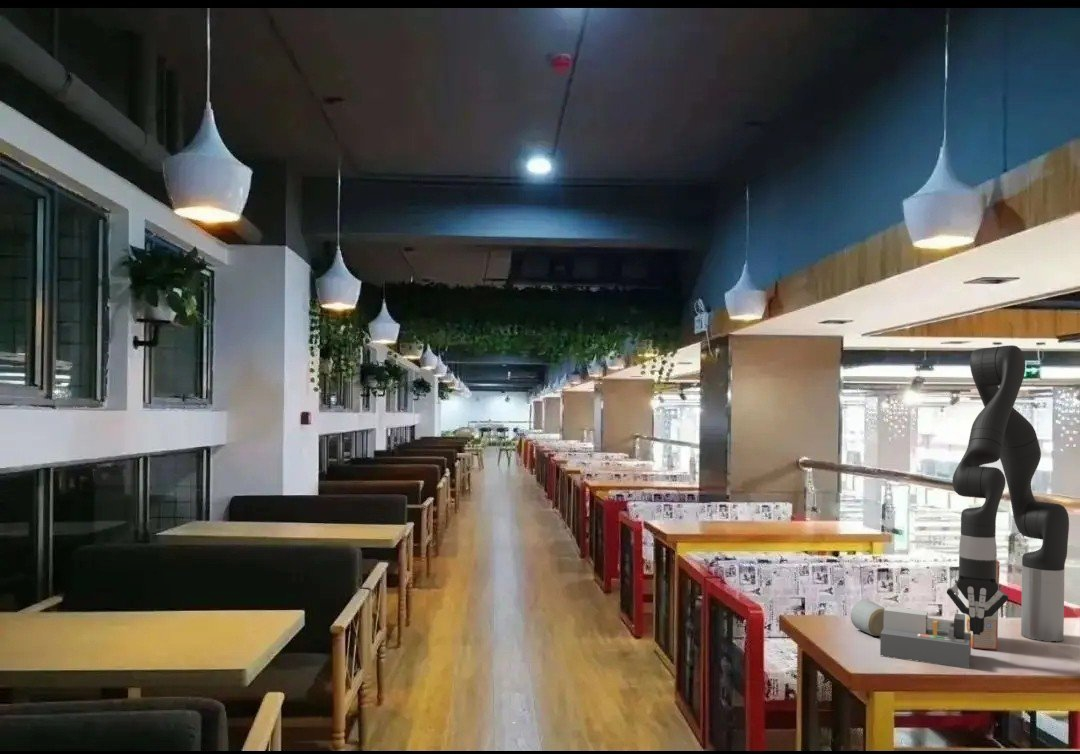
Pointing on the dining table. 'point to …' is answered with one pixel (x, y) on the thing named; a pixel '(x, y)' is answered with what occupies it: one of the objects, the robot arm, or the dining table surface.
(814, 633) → the dining table surface
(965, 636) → the gauge housing
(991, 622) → the cracker box
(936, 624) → the orange rectangular prism
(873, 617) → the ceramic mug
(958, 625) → the plunger
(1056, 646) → the dining table surface
